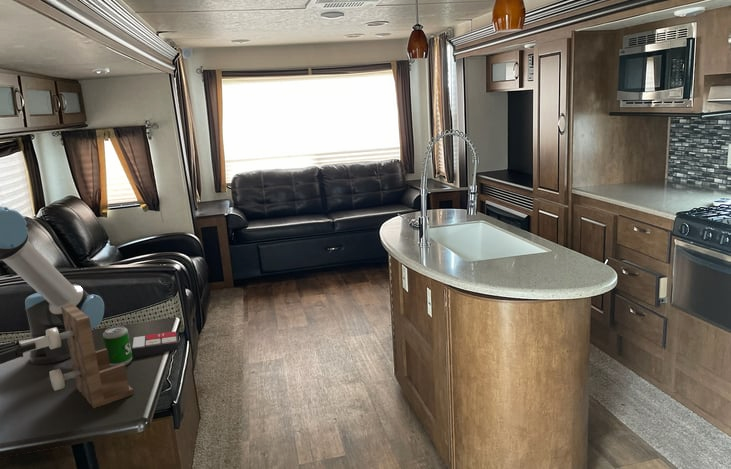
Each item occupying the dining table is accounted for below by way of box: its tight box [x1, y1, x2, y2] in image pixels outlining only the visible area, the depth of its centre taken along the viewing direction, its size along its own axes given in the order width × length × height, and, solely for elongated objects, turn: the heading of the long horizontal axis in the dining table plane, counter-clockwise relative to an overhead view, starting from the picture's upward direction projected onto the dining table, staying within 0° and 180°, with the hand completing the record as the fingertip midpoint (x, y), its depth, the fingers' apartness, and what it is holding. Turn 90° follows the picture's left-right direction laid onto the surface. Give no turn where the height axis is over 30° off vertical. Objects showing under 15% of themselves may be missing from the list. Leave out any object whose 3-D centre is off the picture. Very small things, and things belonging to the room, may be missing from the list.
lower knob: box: [49, 368, 82, 392], centre depth 162 cm, size 6×8×6 cm
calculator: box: [131, 331, 179, 359], centre depth 199 cm, size 11×4×15 cm
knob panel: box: [61, 304, 134, 409], centre depth 166 cm, size 18×11×26 cm, turn 40°
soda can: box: [102, 325, 133, 367], centre depth 187 cm, size 8×8×12 cm
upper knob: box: [46, 327, 74, 349], centre depth 160 cm, size 6×8×6 cm
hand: (48, 340), depth 157 cm, fingers closed
